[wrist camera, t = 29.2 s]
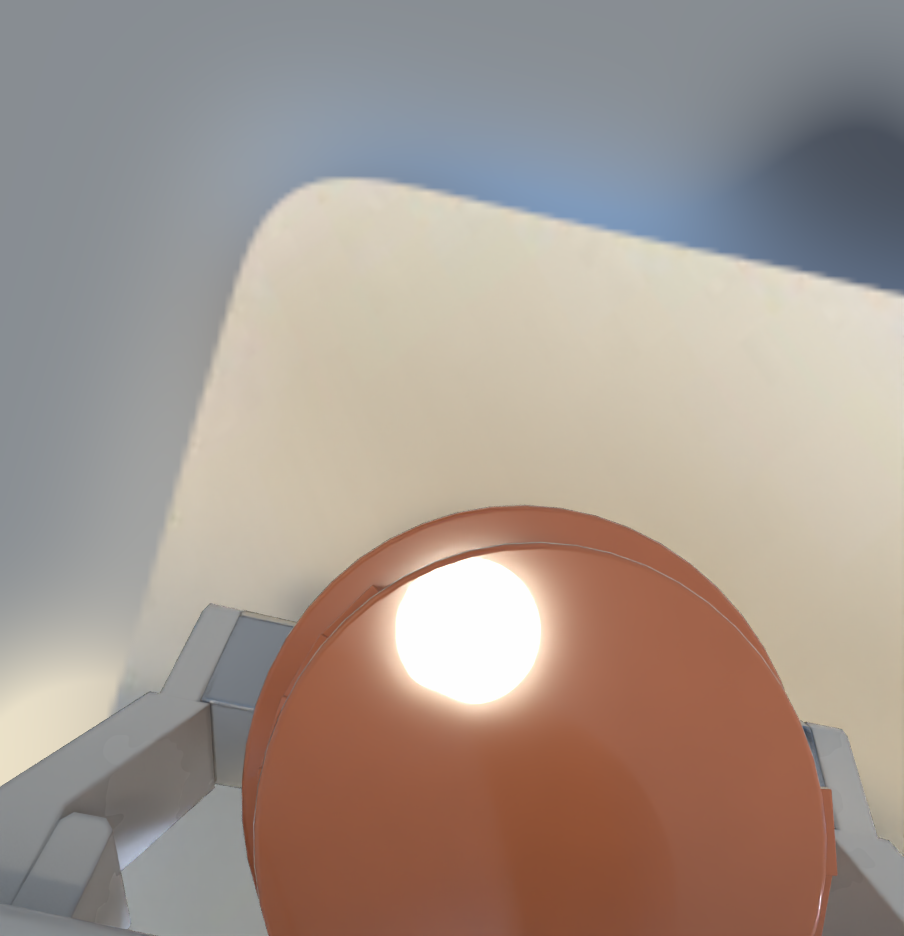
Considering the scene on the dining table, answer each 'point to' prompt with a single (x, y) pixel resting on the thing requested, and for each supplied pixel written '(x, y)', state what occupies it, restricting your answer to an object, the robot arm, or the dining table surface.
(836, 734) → the robot arm
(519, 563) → the jar
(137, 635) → the dining table surface
